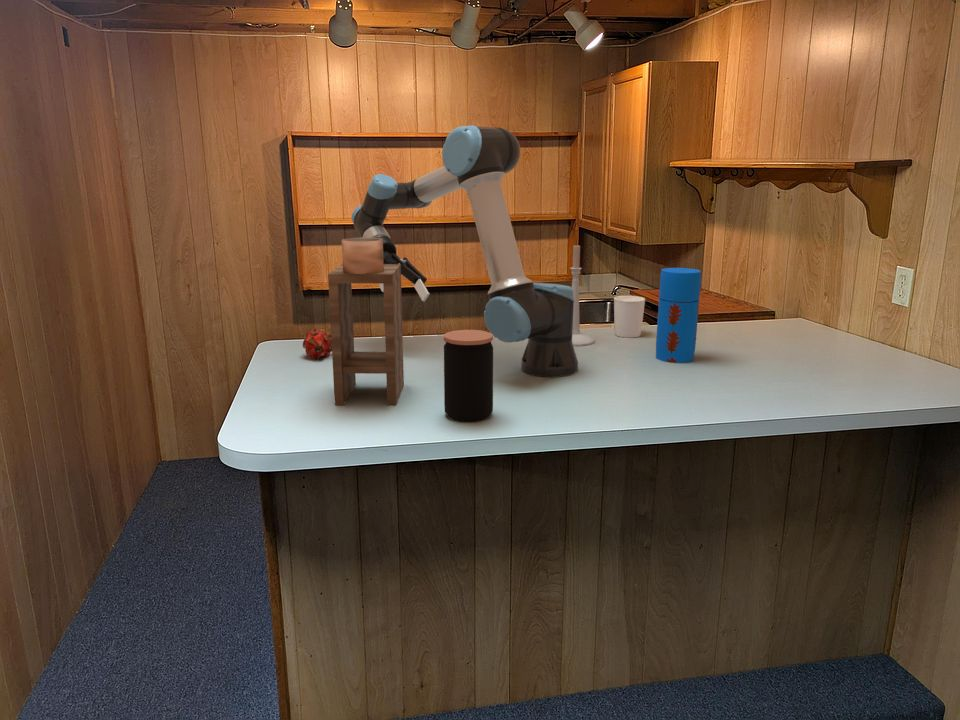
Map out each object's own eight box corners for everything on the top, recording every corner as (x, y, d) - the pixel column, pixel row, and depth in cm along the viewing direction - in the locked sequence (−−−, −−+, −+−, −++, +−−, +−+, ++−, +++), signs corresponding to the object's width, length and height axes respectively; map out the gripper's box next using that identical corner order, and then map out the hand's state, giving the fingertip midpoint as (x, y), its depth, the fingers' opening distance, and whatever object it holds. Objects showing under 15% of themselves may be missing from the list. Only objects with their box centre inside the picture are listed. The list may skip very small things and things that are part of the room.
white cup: (624, 339, 227) (627, 302, 224) (605, 333, 235) (607, 297, 232) (649, 336, 231) (651, 299, 228) (629, 330, 240) (631, 294, 237)
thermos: (652, 360, 203) (658, 271, 196) (658, 351, 212) (663, 266, 206) (692, 364, 199) (699, 274, 192) (696, 355, 208) (703, 269, 202)
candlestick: (545, 342, 223) (547, 244, 215) (564, 334, 233) (568, 241, 226) (582, 348, 216) (586, 247, 208) (601, 340, 226) (605, 243, 219)
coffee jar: (494, 407, 163) (495, 330, 159) (490, 424, 153) (491, 341, 148) (448, 406, 164) (447, 328, 160) (440, 422, 154) (439, 340, 150)
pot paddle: (359, 259, 182) (358, 230, 180) (395, 259, 182) (394, 230, 180) (339, 274, 157) (337, 241, 155) (380, 274, 157) (379, 241, 155)
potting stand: (347, 384, 180) (342, 264, 173) (403, 384, 180) (400, 264, 172) (334, 405, 165) (327, 274, 157) (396, 405, 165) (392, 274, 157)
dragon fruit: (321, 355, 213) (322, 372, 203) (296, 341, 210) (296, 357, 199) (338, 333, 212) (339, 349, 201) (313, 318, 208) (313, 333, 198)
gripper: (407, 264, 217) (434, 311, 204) (336, 245, 200) (360, 294, 188) (420, 245, 213) (448, 291, 201) (348, 223, 197) (374, 272, 184)
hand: (406, 293), depth 194 cm, fingers open, 13 cm apart
